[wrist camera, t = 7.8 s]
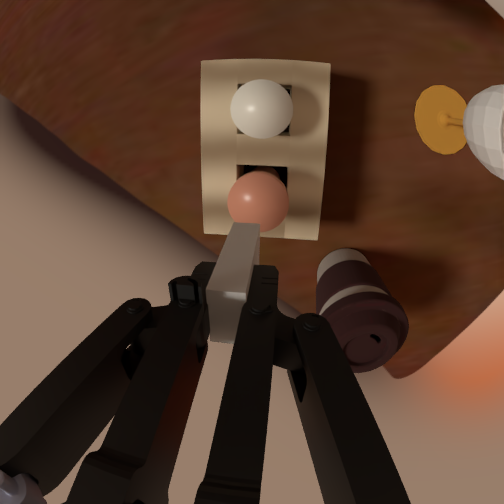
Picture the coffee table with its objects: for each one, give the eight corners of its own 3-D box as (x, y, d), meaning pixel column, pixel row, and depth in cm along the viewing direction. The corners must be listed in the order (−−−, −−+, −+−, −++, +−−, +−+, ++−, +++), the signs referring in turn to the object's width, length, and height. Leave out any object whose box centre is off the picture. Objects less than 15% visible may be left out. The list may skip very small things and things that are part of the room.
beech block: (215, 68, 28) (201, 60, 23) (322, 71, 27) (330, 63, 22) (215, 214, 37) (204, 233, 31) (312, 219, 36) (317, 240, 30)
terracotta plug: (240, 157, 31) (227, 172, 24) (289, 159, 31) (290, 175, 23) (240, 202, 33) (227, 230, 26) (286, 204, 33) (286, 234, 26)
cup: (427, 163, 30) (505, 206, 16) (403, 94, 27) (482, 92, 13) (477, 144, 28) (560, 176, 14) (457, 78, 24) (544, 78, 10)
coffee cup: (313, 306, 42) (320, 389, 28) (300, 246, 38) (306, 324, 24) (379, 292, 40) (409, 371, 26) (374, 230, 35) (416, 300, 22)
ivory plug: (243, 86, 28) (230, 79, 21) (291, 88, 28) (294, 80, 21) (242, 131, 31) (230, 138, 24) (289, 133, 30) (292, 140, 23)
